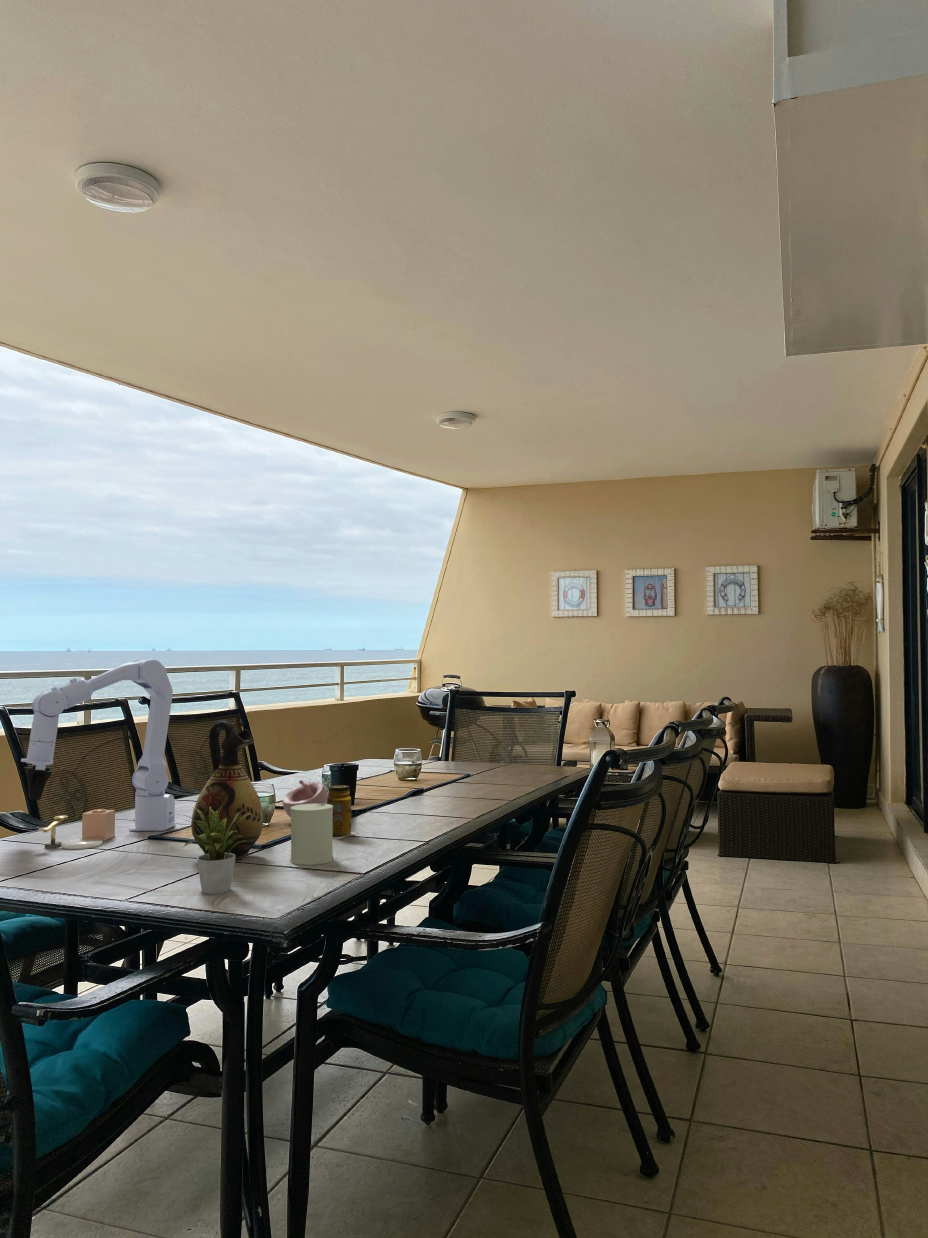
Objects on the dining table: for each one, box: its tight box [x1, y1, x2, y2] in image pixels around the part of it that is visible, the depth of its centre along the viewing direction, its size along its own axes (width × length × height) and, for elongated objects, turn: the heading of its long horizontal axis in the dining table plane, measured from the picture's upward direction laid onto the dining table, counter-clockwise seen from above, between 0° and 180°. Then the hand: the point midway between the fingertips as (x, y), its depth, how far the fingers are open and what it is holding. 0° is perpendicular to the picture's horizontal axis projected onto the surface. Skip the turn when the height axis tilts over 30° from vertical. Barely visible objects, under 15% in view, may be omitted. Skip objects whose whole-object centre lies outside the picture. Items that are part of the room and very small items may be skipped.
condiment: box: [327, 784, 358, 840], centre depth 218 cm, size 7×8×12 cm
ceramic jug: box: [190, 719, 264, 862], centre depth 194 cm, size 17×15×30 cm
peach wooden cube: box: [81, 808, 116, 842], centre depth 216 cm, size 6×6×7 cm
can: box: [289, 803, 334, 866], centre depth 190 cm, size 9×9×12 cm
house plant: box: [173, 804, 251, 895], centre depth 166 cm, size 14×14×16 cm
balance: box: [38, 815, 69, 849], centre depth 206 cm, size 10×3×6 cm, turn 177°
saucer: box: [60, 838, 104, 850], centre depth 208 cm, size 9×9×1 cm
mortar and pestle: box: [282, 779, 328, 819], centre depth 236 cm, size 12×12×11 cm
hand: (33, 798), depth 211 cm, fingers open, 7 cm apart
